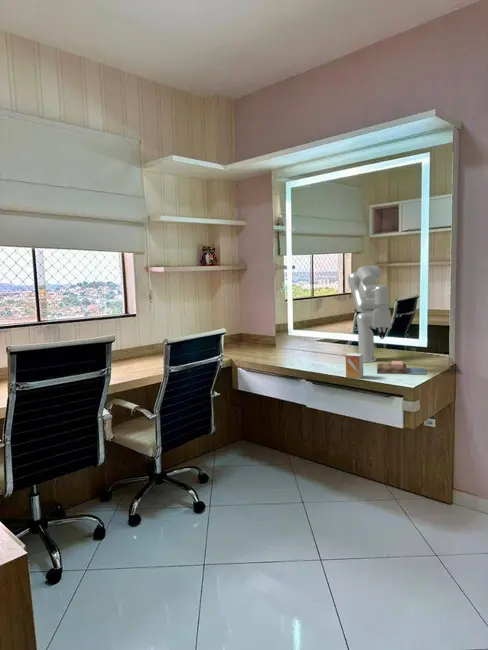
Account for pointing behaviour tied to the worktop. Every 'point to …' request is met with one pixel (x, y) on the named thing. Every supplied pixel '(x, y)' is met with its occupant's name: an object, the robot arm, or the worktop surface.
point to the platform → (390, 369)
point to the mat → (416, 371)
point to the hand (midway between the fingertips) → (382, 338)
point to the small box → (354, 365)
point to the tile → (397, 364)
